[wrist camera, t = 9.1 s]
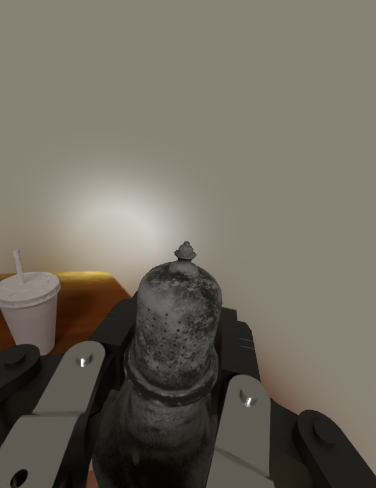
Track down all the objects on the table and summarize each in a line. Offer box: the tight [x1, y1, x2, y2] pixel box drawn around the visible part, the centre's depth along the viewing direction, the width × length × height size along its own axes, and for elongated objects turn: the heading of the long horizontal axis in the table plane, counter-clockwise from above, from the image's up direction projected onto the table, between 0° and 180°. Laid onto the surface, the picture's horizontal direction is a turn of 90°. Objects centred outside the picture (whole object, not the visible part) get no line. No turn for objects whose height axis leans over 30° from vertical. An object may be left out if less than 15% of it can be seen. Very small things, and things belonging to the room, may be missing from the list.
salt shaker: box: [92, 241, 222, 488], centre depth 9 cm, size 6×6×12 cm
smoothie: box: [0, 249, 61, 356], centre depth 26 cm, size 6×6×14 cm
